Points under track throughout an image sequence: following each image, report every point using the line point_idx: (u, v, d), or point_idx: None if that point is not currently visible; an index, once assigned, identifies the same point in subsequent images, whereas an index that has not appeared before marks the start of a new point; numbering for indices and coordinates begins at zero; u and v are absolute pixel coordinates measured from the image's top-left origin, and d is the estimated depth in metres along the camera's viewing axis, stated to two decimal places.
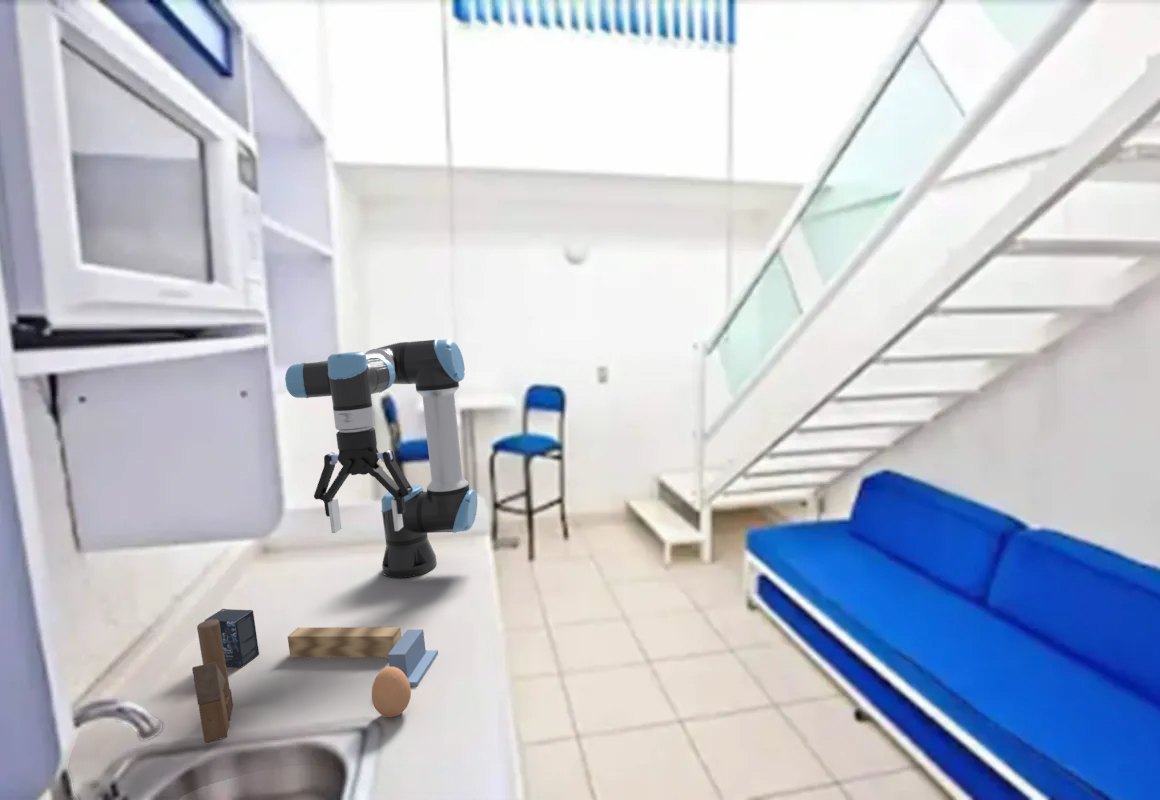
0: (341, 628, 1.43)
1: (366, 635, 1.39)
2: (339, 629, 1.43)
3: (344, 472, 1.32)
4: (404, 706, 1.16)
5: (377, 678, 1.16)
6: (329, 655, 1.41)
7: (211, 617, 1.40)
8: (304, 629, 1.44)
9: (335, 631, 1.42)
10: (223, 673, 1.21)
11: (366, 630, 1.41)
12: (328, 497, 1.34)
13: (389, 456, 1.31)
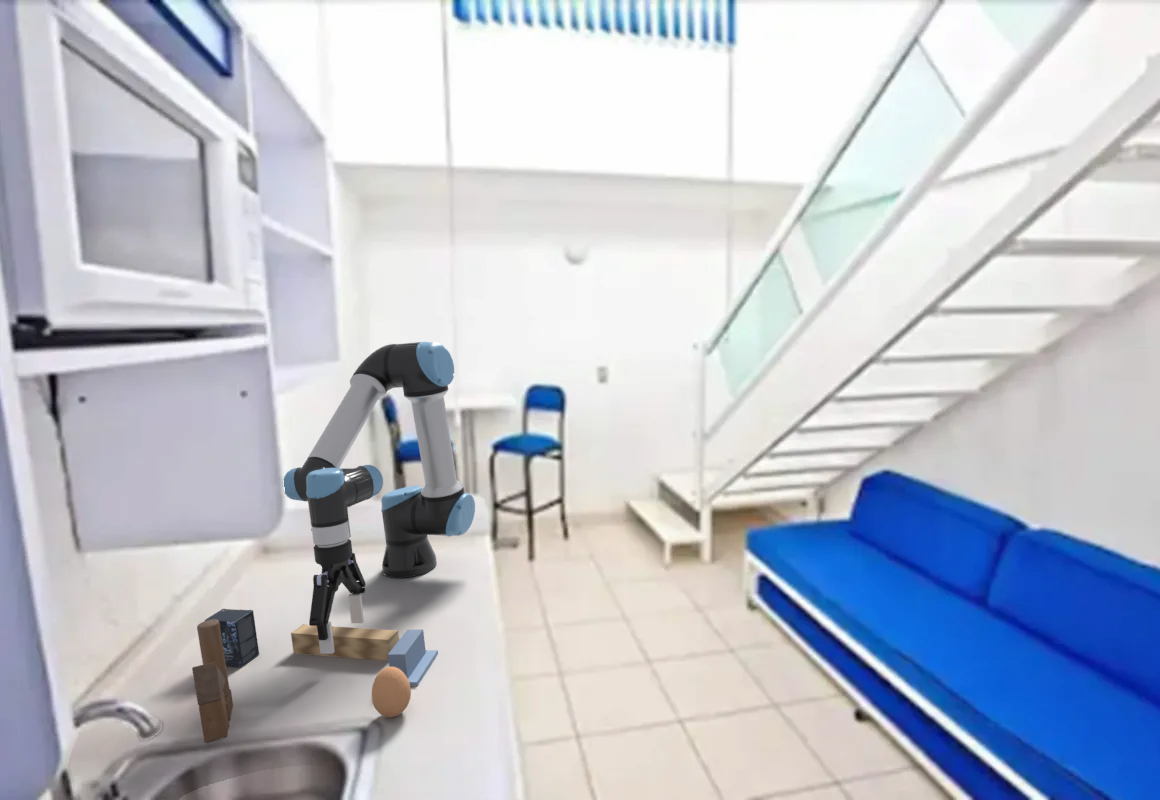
0: (342, 628, 1.43)
1: (363, 637, 1.38)
2: (340, 628, 1.43)
3: None
4: (404, 706, 1.16)
5: (377, 678, 1.16)
6: (329, 654, 1.41)
7: (211, 617, 1.40)
8: (308, 626, 1.45)
9: (336, 631, 1.42)
10: (223, 673, 1.21)
11: (365, 632, 1.41)
12: None
13: (315, 581, 1.33)
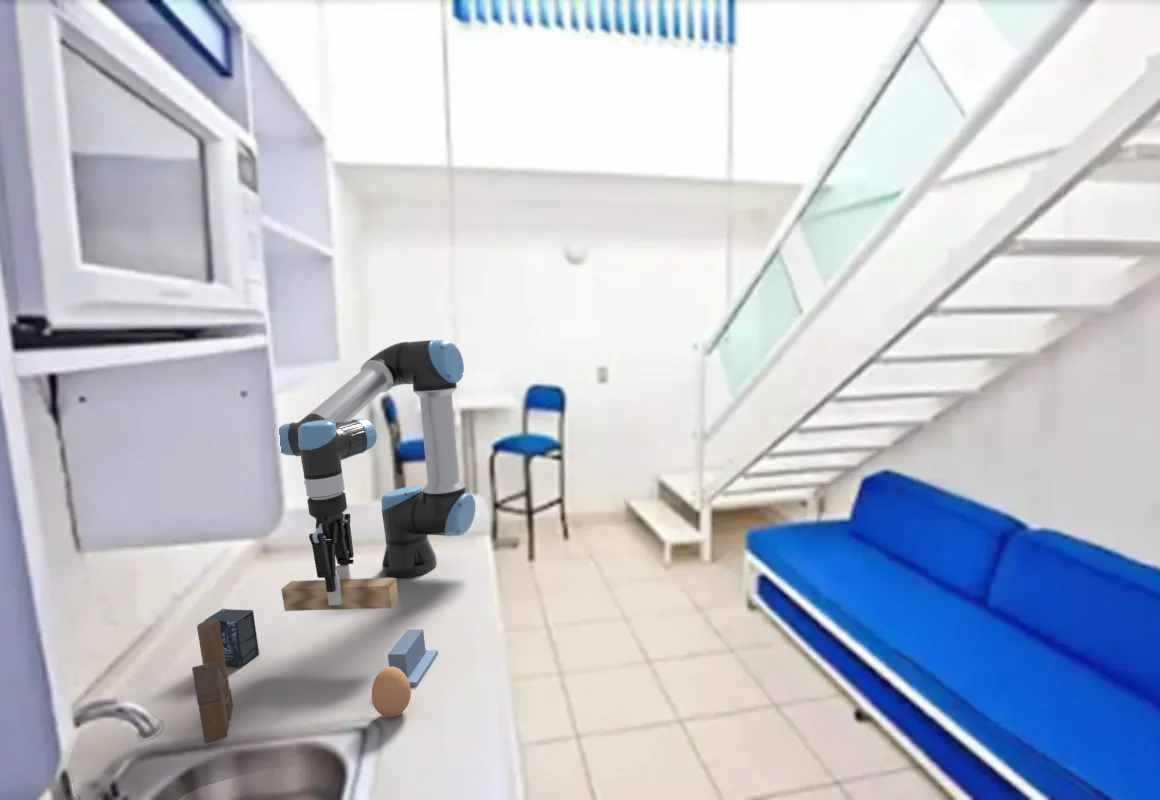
0: None
1: (361, 585, 1.38)
2: None
3: None
4: (404, 706, 1.16)
5: (377, 678, 1.16)
6: (324, 607, 1.39)
7: (211, 617, 1.40)
8: (298, 582, 1.43)
9: None
10: (223, 673, 1.21)
11: (361, 581, 1.40)
12: None
13: (312, 540, 1.32)
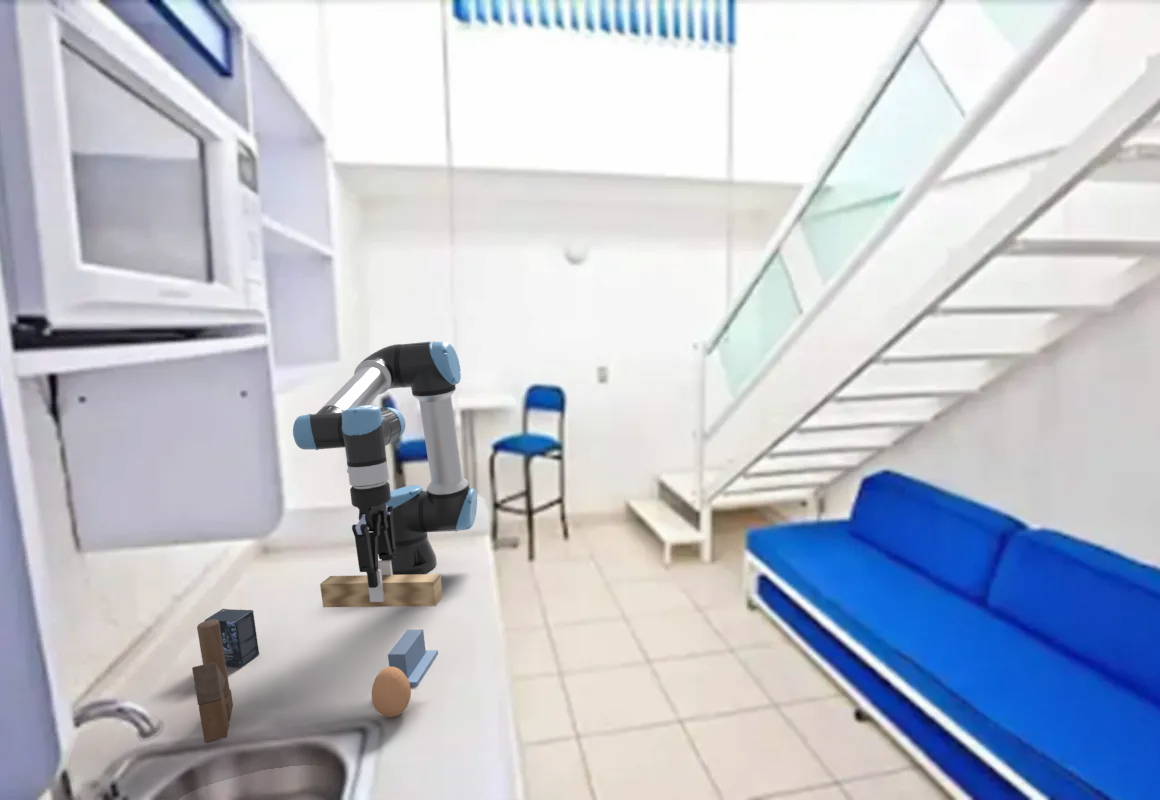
0: None
1: (404, 581, 1.30)
2: None
3: None
4: (404, 706, 1.16)
5: (377, 678, 1.16)
6: (365, 603, 1.32)
7: (211, 617, 1.40)
8: (337, 577, 1.35)
9: None
10: (223, 673, 1.21)
11: (404, 577, 1.32)
12: None
13: (355, 531, 1.25)
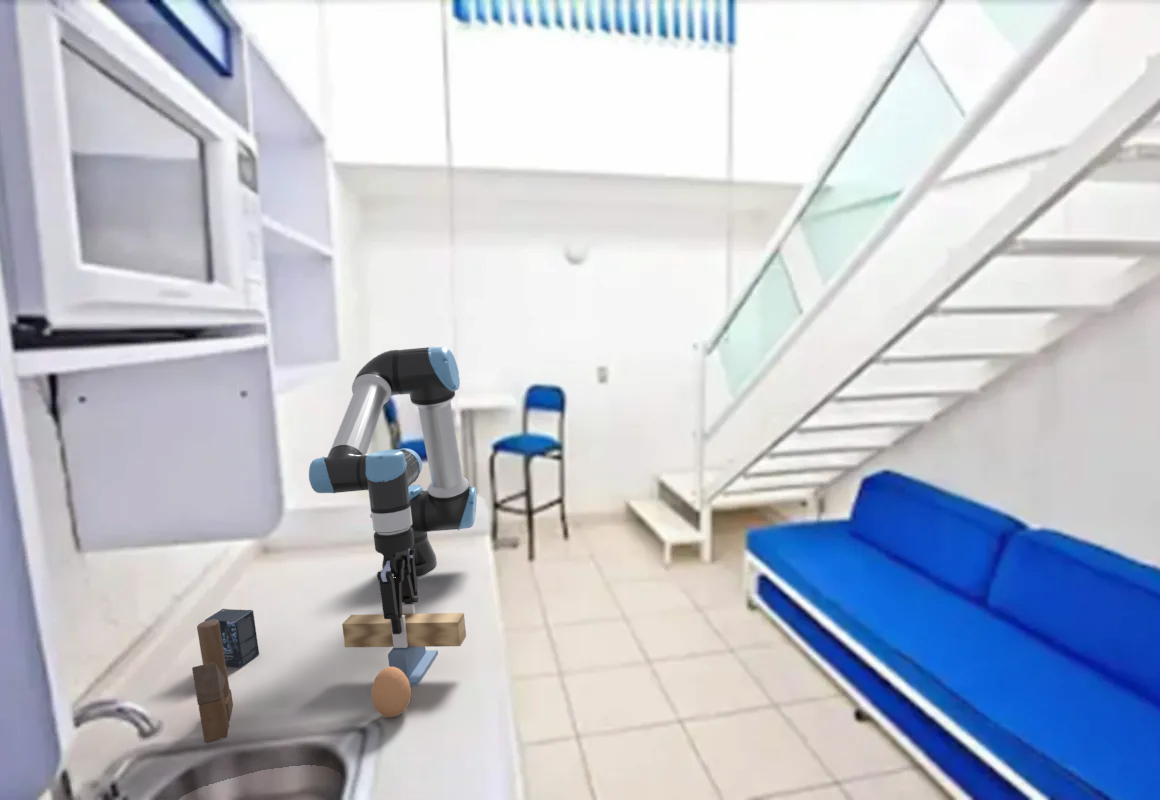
0: None
1: (428, 621, 1.29)
2: None
3: None
4: (404, 706, 1.16)
5: (377, 678, 1.16)
6: (388, 643, 1.30)
7: (211, 617, 1.40)
8: (359, 616, 1.34)
9: None
10: (223, 673, 1.21)
11: (427, 617, 1.31)
12: None
13: (380, 579, 1.24)
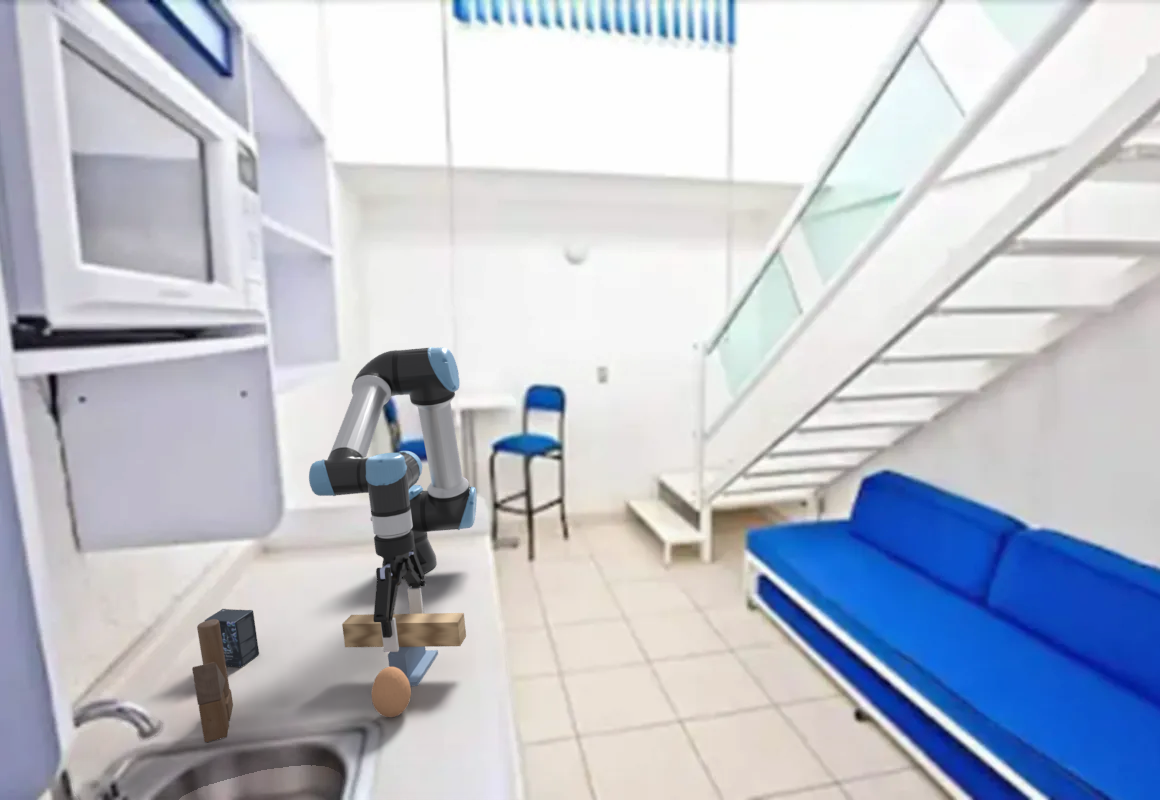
0: (399, 614, 1.33)
1: (428, 621, 1.29)
2: (397, 615, 1.33)
3: None
4: (404, 706, 1.16)
5: (377, 678, 1.16)
6: None
7: (211, 617, 1.40)
8: (359, 616, 1.34)
9: None
10: (223, 673, 1.21)
11: (427, 617, 1.31)
12: None
13: (378, 574, 1.23)
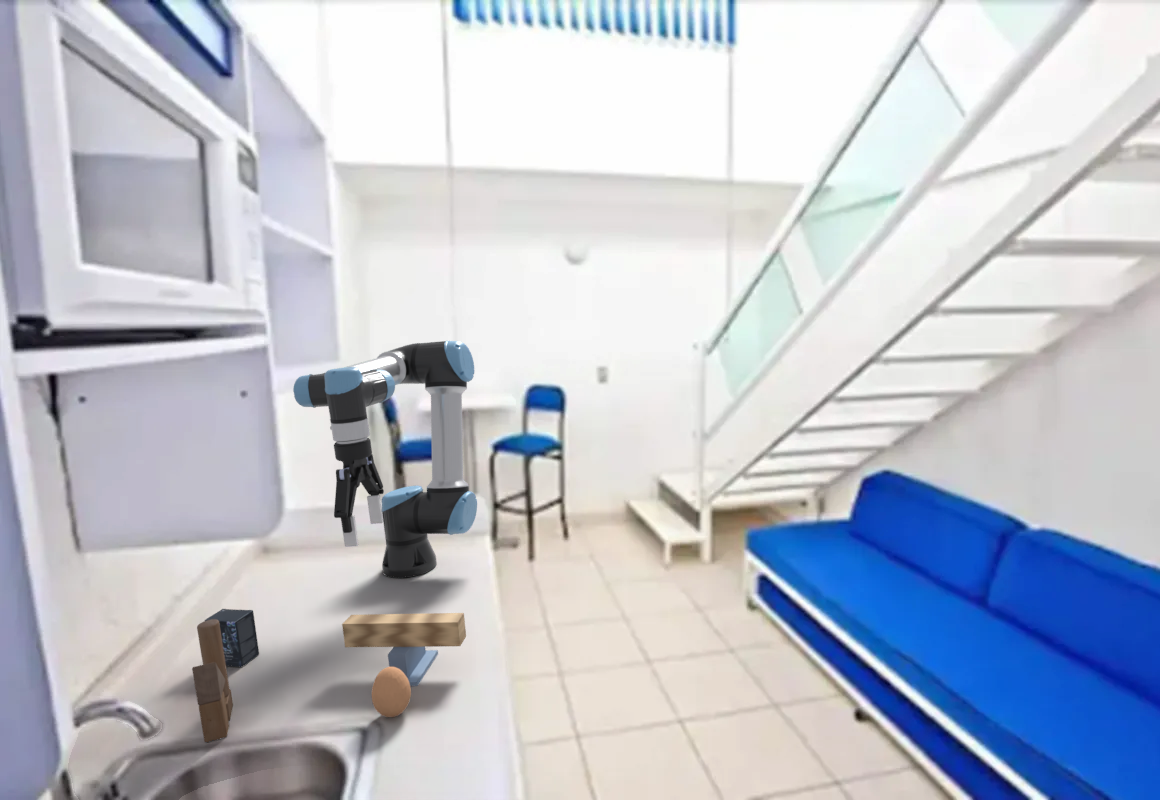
0: (399, 614, 1.33)
1: (428, 621, 1.29)
2: (397, 615, 1.33)
3: None
4: (404, 706, 1.16)
5: (377, 678, 1.16)
6: (388, 643, 1.30)
7: (211, 617, 1.40)
8: (359, 616, 1.34)
9: (393, 618, 1.32)
10: (223, 673, 1.21)
11: (427, 617, 1.31)
12: None
13: (337, 475, 1.35)
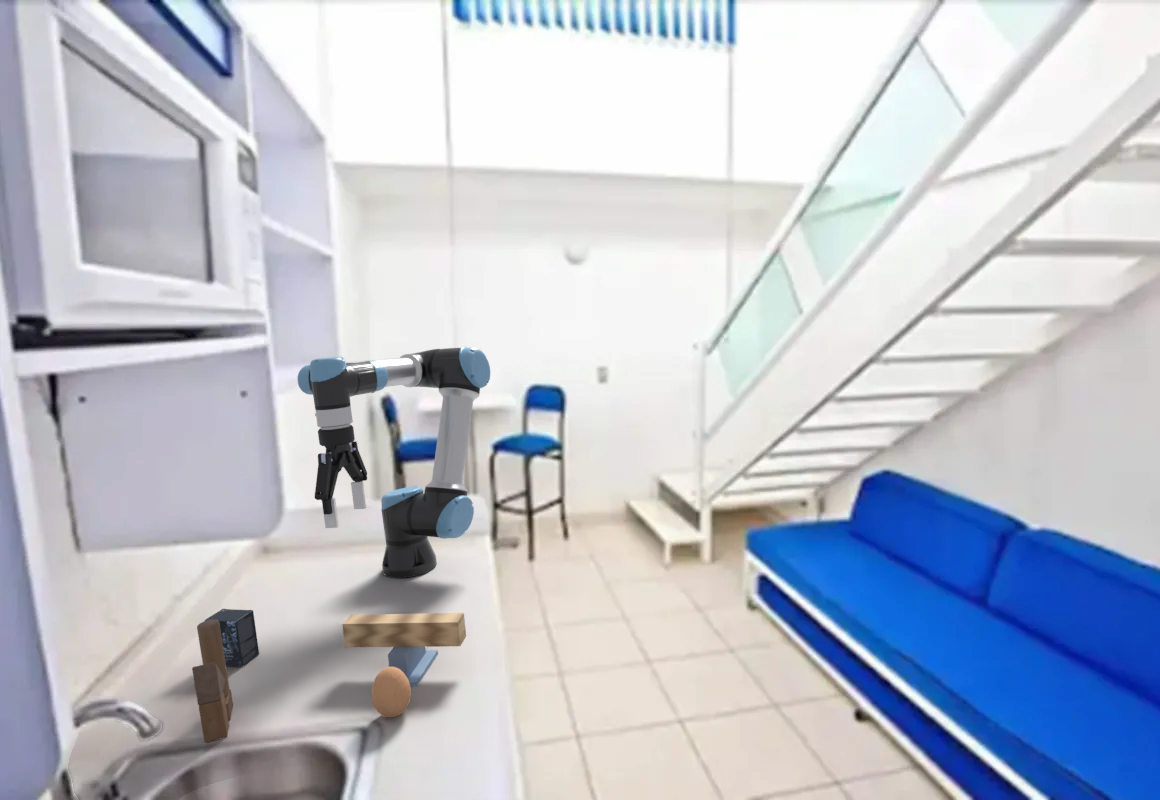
0: (399, 614, 1.33)
1: (428, 621, 1.29)
2: (397, 615, 1.33)
3: None
4: (404, 706, 1.16)
5: (377, 678, 1.16)
6: (388, 643, 1.30)
7: (211, 617, 1.40)
8: (359, 616, 1.34)
9: (393, 618, 1.32)
10: (223, 673, 1.21)
11: (427, 617, 1.31)
12: None
13: (319, 458, 1.41)
